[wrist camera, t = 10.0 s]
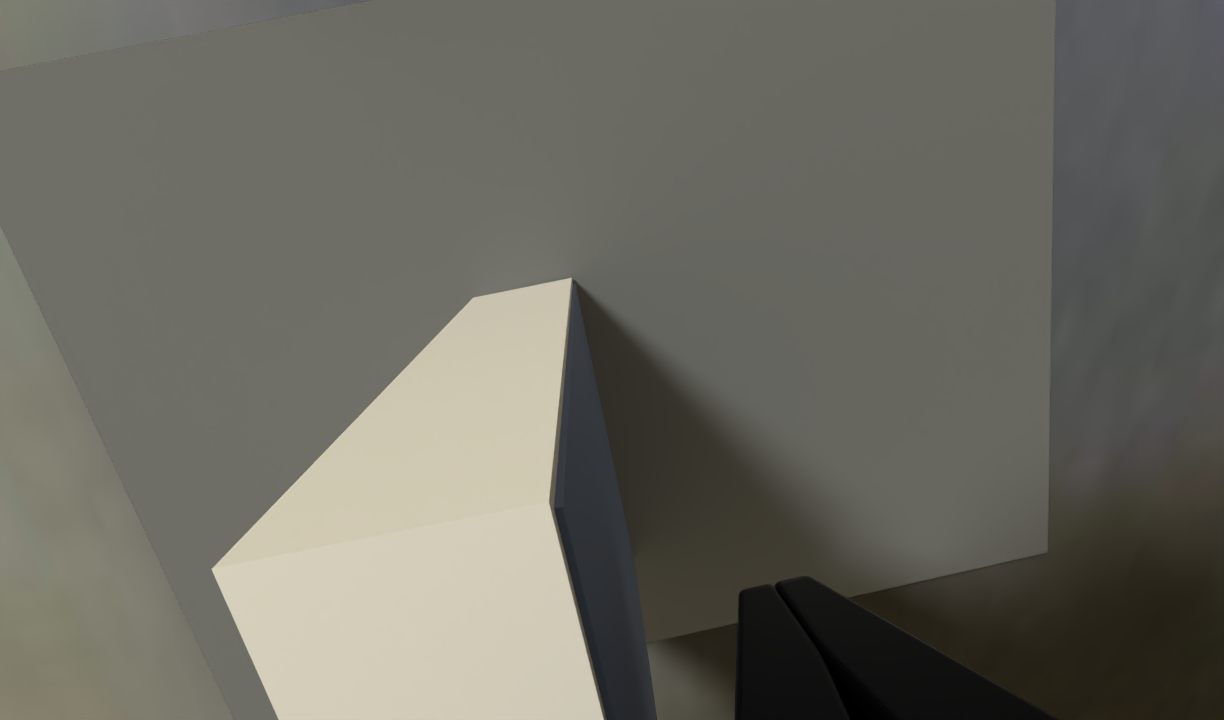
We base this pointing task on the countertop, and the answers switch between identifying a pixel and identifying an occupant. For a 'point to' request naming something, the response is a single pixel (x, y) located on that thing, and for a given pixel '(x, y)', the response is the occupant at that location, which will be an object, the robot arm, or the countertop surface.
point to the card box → (456, 542)
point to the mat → (570, 266)
